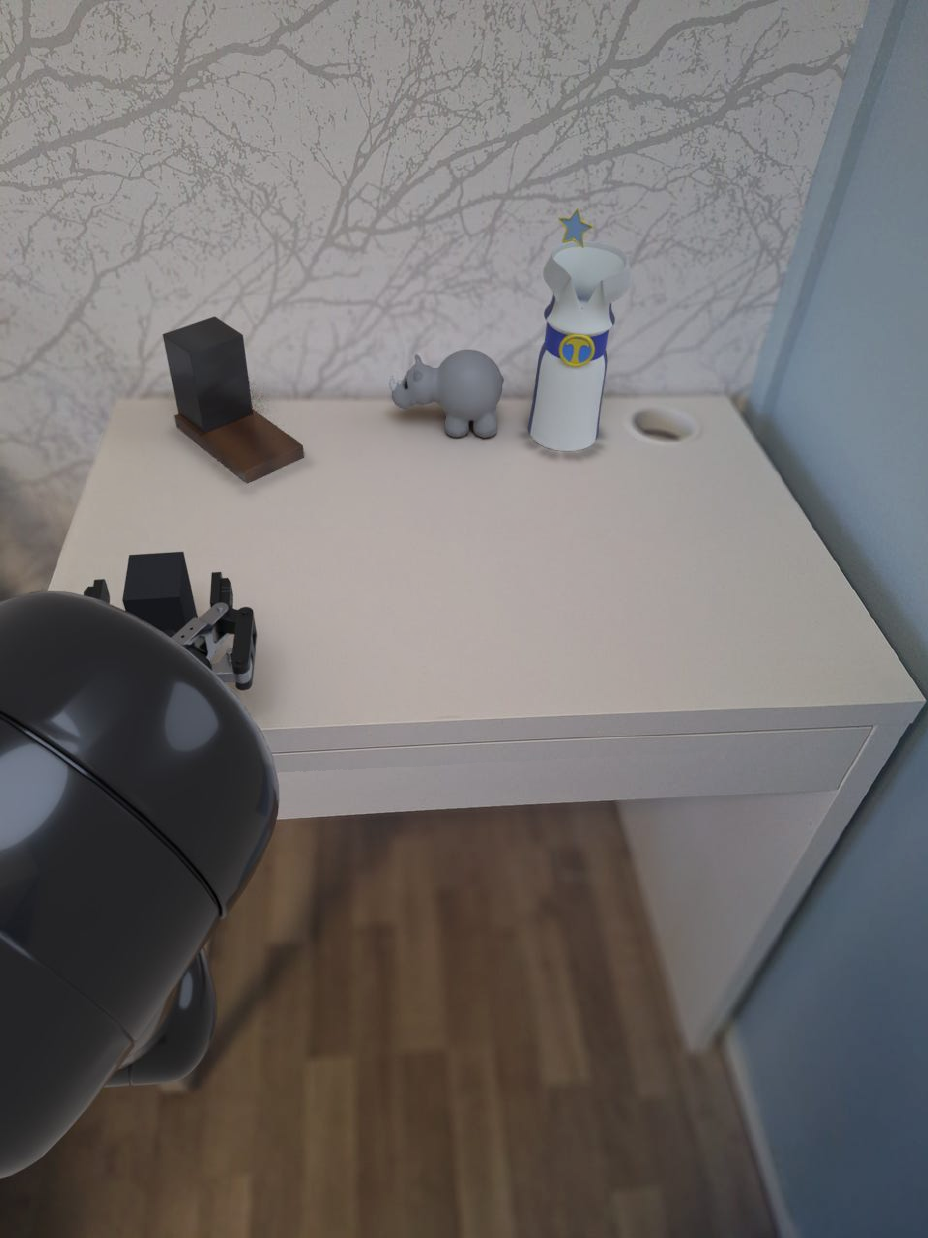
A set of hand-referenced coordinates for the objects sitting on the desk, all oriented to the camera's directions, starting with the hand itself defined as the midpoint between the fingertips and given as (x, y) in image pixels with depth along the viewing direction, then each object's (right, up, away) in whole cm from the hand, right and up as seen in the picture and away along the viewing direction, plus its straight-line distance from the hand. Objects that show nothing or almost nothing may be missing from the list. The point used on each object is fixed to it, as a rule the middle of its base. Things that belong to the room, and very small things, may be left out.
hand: (160, 583), depth 70 cm
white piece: (+34, +18, +30) cm, 49 cm away
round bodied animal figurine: (+21, +18, +30) cm, 41 cm away
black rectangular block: (0, -6, +4) cm, 7 cm away
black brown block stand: (0, +16, +26) cm, 30 cm away
